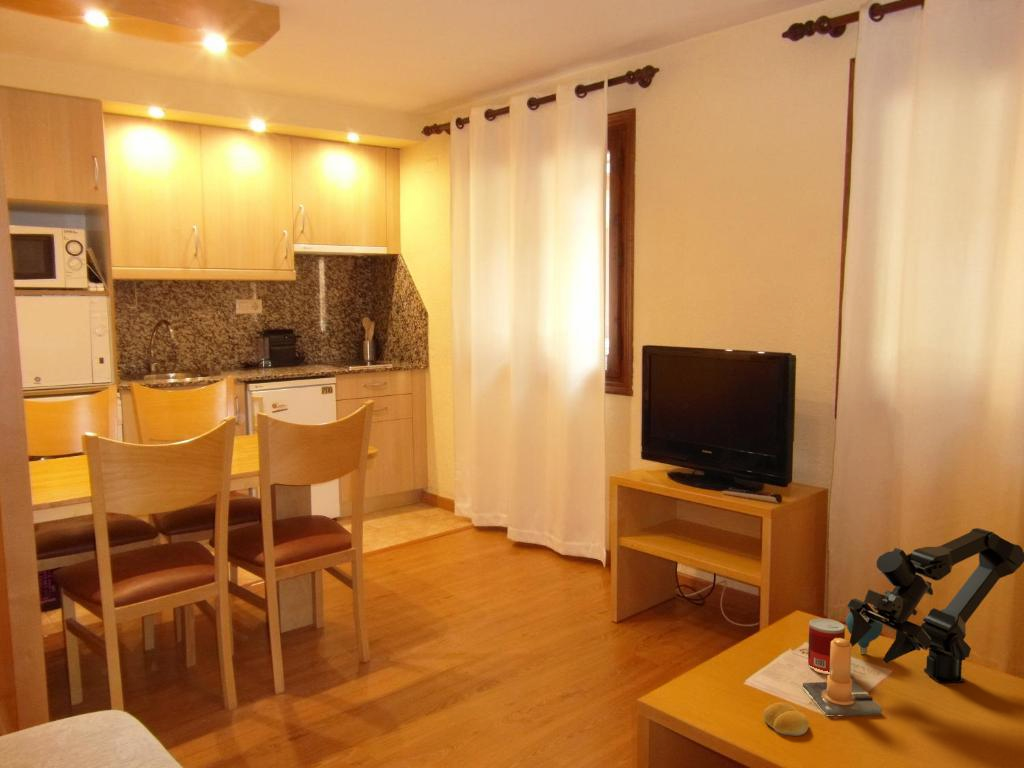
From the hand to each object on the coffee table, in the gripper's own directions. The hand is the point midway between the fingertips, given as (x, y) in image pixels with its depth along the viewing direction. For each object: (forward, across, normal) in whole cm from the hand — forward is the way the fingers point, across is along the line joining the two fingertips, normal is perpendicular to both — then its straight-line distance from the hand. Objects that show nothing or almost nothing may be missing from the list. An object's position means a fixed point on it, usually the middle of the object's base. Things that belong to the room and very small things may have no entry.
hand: (867, 653), depth 172 cm
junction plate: (+12, -1, +2) cm, 12 cm away
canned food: (+6, -14, +9) cm, 18 cm away
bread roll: (+25, +2, -10) cm, 27 cm away
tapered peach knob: (+12, 0, 0) cm, 12 cm away
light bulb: (-4, -16, +20) cm, 26 cm away
